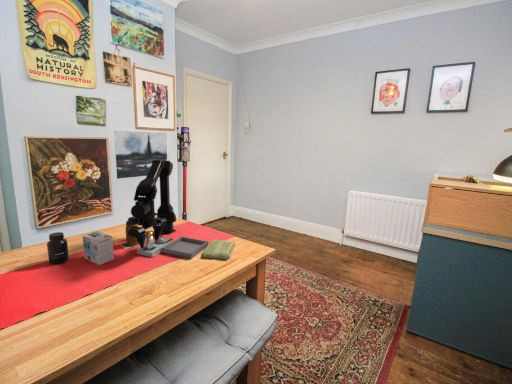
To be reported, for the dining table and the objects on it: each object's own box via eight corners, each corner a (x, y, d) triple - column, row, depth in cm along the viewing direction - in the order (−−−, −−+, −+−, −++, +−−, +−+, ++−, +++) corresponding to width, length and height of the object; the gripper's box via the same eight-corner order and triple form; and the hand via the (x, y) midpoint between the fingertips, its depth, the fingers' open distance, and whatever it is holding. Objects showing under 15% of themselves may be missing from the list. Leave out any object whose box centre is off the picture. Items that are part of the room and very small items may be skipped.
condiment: (143, 244, 131) (141, 221, 128) (124, 249, 125) (123, 225, 122) (137, 240, 136) (136, 217, 133) (119, 244, 130) (117, 221, 127)
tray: (181, 240, 137) (181, 236, 136) (207, 246, 132) (207, 241, 131) (162, 252, 123) (162, 247, 122) (190, 259, 118) (190, 253, 117)
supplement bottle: (58, 266, 108) (55, 238, 105) (44, 263, 109) (40, 236, 106) (73, 258, 114) (70, 232, 112) (60, 256, 116) (56, 230, 113)
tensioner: (159, 240, 136) (159, 234, 135) (174, 243, 133) (174, 237, 132) (136, 253, 121) (136, 246, 120) (152, 257, 118) (152, 250, 117)
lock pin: (149, 250, 125) (148, 230, 123) (155, 251, 124) (154, 231, 122) (144, 253, 122) (143, 232, 119) (150, 254, 121) (149, 233, 118)
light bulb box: (84, 258, 114) (81, 235, 112) (99, 253, 120) (97, 230, 118) (99, 265, 110) (97, 240, 107) (114, 258, 115) (112, 235, 113)
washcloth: (235, 245, 135) (235, 239, 135) (229, 261, 118) (229, 254, 117) (210, 243, 136) (210, 237, 136) (200, 259, 119) (200, 252, 119)
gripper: (147, 204, 130) (149, 234, 133) (116, 214, 112) (119, 248, 116) (167, 207, 126) (168, 238, 129) (137, 218, 109) (139, 253, 112)
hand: (149, 244), depth 122 cm, fingers open, 9 cm apart
